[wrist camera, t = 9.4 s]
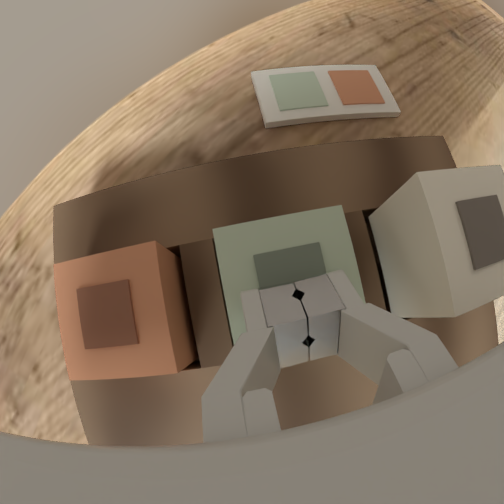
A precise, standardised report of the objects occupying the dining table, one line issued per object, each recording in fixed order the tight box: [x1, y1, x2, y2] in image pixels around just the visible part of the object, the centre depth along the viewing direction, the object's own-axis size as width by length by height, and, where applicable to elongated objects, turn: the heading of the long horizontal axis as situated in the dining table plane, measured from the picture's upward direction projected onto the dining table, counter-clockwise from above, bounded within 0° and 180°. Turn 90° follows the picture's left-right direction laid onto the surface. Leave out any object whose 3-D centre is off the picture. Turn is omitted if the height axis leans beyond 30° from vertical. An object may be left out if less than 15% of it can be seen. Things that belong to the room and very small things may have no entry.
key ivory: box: [368, 165, 504, 318], centre depth 10 cm, size 4×4×5 cm
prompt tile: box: [251, 65, 401, 128], centre depth 17 cm, size 9×4×1 cm, turn 101°
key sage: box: [212, 205, 366, 345], centre depth 12 cm, size 4×4×5 cm
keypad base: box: [53, 136, 498, 446], centre depth 13 cm, size 21×12×3 cm, turn 101°
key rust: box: [54, 241, 199, 380], centre depth 12 cm, size 4×4×5 cm
